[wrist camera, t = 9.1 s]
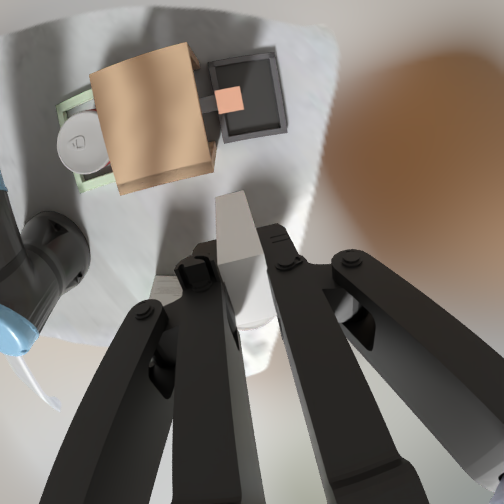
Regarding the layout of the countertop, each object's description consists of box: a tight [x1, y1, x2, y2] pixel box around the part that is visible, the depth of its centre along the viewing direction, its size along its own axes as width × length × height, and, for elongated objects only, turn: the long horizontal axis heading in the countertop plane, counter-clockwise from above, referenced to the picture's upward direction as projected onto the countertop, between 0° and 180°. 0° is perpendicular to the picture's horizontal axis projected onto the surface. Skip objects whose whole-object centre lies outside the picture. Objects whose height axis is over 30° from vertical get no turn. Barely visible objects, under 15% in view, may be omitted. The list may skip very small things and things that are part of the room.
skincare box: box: [149, 276, 183, 360], centre depth 45 cm, size 8×7×16 cm
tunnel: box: [89, 42, 217, 196], centre depth 30 cm, size 10×13×14 cm
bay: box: [56, 89, 116, 193], centre depth 36 cm, size 12×15×1 cm
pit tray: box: [208, 52, 288, 144], centre depth 36 cm, size 9×12×1 cm
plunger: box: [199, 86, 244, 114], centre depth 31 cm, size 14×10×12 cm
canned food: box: [57, 109, 110, 174], centre depth 32 cm, size 8×8×11 cm
